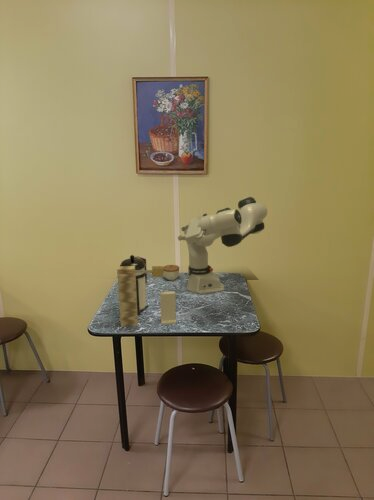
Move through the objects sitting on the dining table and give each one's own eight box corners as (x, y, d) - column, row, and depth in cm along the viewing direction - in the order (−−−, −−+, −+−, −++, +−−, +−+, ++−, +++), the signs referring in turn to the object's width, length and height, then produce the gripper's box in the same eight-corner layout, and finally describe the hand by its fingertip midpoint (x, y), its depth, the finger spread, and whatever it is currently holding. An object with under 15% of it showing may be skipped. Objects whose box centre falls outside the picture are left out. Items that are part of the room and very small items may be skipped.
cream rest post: (174, 316, 180) (174, 289, 176) (176, 324, 172) (175, 295, 168) (160, 317, 179) (160, 290, 175) (161, 324, 171) (160, 296, 167)
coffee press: (116, 306, 192) (112, 253, 183) (145, 301, 197) (142, 249, 189) (122, 320, 176) (118, 263, 168) (153, 315, 181) (151, 259, 173)
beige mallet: (162, 274, 171) (162, 266, 169) (163, 277, 167) (163, 269, 166) (124, 273, 168) (124, 265, 167) (124, 276, 164) (124, 268, 163)
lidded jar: (182, 277, 232) (182, 264, 229) (173, 283, 223) (172, 268, 221) (169, 274, 238) (169, 261, 235) (159, 279, 229) (159, 265, 227)
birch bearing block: (137, 319, 177) (134, 265, 169) (137, 325, 171) (134, 269, 163) (121, 320, 176) (117, 266, 168) (120, 326, 170) (117, 270, 162)
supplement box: (133, 281, 227) (131, 257, 222) (139, 279, 230) (138, 255, 226) (141, 284, 221) (140, 260, 216) (147, 282, 224) (146, 258, 220)
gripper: (206, 242, 160) (179, 250, 164) (211, 222, 177) (185, 229, 182) (201, 230, 157) (173, 238, 162) (206, 211, 175) (181, 219, 179)
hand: (180, 233), depth 172 cm, fingers open, 8 cm apart
